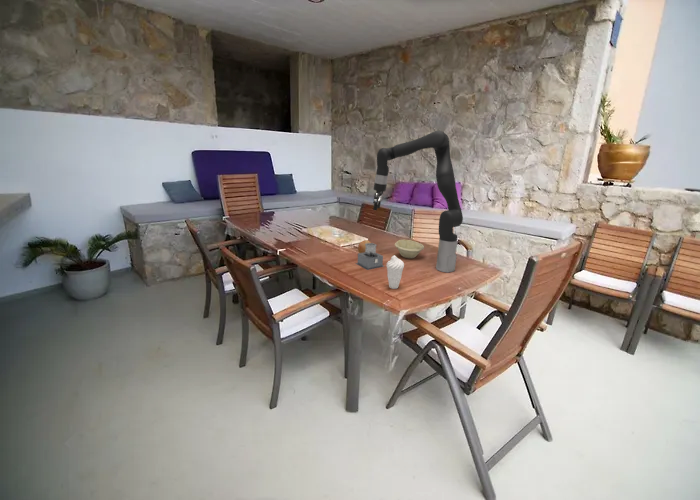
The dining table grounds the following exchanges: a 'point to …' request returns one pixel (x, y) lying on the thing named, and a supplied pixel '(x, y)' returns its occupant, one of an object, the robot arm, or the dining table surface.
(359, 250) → the onion
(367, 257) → the stand
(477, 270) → the dining table surface
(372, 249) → the translucent grey cylinder
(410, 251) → the bowl
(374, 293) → the dining table surface
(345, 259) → the dining table surface
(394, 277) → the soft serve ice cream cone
